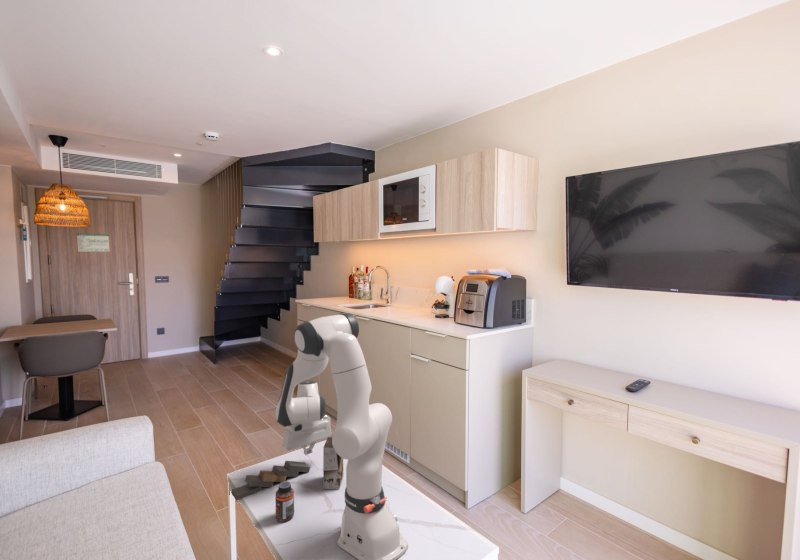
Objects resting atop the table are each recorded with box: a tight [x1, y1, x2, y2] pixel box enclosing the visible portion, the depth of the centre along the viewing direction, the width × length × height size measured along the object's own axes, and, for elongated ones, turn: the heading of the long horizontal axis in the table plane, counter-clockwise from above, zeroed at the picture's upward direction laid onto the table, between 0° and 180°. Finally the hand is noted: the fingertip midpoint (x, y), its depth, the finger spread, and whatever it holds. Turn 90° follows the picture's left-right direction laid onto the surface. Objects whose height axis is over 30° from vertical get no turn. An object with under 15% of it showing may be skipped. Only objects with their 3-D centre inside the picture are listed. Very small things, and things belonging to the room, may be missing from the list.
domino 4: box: [271, 464, 300, 478], centre depth 155 cm, size 5×2×9 cm
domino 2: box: [244, 474, 274, 488], centre depth 148 cm, size 5×2×9 cm
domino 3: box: [258, 469, 288, 483], centre depth 151 cm, size 5×2×9 cm
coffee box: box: [322, 436, 344, 490], centre depth 152 cm, size 9×6×16 cm
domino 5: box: [283, 460, 311, 473], centre depth 158 cm, size 5×2×9 cm
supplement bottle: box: [275, 480, 295, 523], centre depth 131 cm, size 6×6×11 cm
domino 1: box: [231, 483, 262, 501], centre depth 145 cm, size 5×2×9 cm
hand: (308, 453), depth 161 cm, fingers closed
